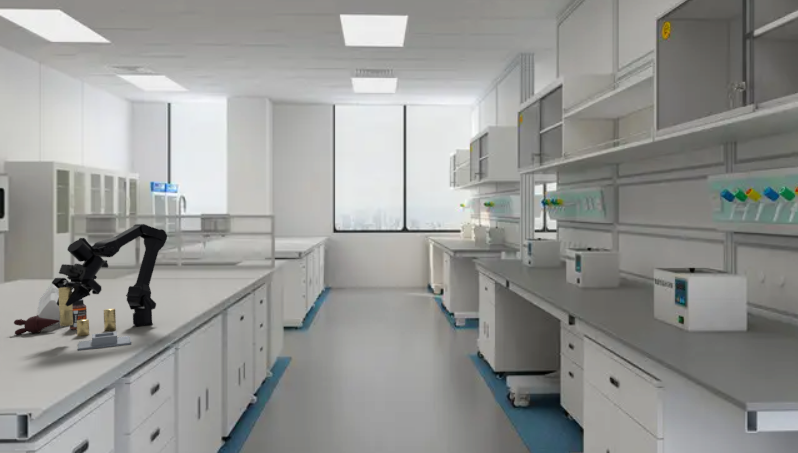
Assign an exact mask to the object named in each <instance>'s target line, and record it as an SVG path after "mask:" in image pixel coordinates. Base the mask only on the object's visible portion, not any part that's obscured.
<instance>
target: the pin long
mask: <svg viewBox="0 0 798 453" xmlns="http://www.w3.org/2000/svg"><path fill="white" fill-rule="evenodd" d="M72 292H73V290H72V287H61V288H58V293H59V316H60V324H59V326H60V327H68V326H69V327H70V325H73V308H72V304H71V305H70V306H66V305H65V304H66V302H67V300H68V299H69V297H70V296H71V294H72Z"/></svg>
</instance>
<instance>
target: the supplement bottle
mask: <svg viewBox="0 0 798 453" xmlns="http://www.w3.org/2000/svg"><path fill="white" fill-rule="evenodd" d="M72 308H73V325H70V326H69V330H72V331H73V330H74V331H75V330H76V331H77V320H82V319H88V317H87V316H88V315H87V305H86V304H85V303H84V298H82V299H80V300H79V301H77V302H75V303H73V304H72Z"/></svg>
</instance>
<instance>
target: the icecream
mask: <svg viewBox="0 0 798 453" xmlns="http://www.w3.org/2000/svg"><path fill="white" fill-rule="evenodd" d="M36 315H37V314H36ZM36 315H34V316H30V317H28V318H27V319H26V320H25V319H22V318H19V319H15V320H14V322H13V324H14V325H15V326H24V327H22V328H18V329H16V330H15V331H14V335H23V334H25V333H26V332H27V333H32V334H37V333H38V334H40V333H41V331H43V330H45V329H47V328H49V327H51V326H53V324H54V325H56V324H55V323H58V322H59V320H54V319H47V318H40V317H38V315H37V316H36Z"/></svg>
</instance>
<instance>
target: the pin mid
mask: <svg viewBox="0 0 798 453" xmlns="http://www.w3.org/2000/svg"><path fill="white" fill-rule="evenodd" d="M116 315H117V314H116V308H106V309H105V308H104V309H103V324H104V325H103V328H104V332H116V330H117V323H116V322H117V321H116V318H117V317H116Z"/></svg>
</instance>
